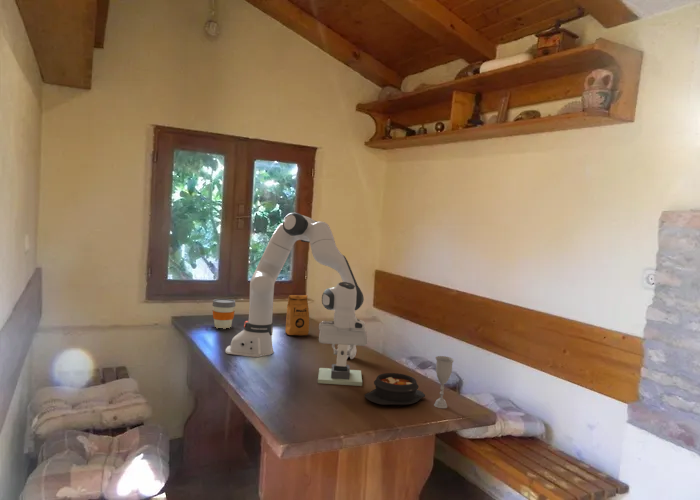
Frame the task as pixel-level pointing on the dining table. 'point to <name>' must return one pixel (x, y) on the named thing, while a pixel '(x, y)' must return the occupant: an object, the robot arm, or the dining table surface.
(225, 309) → the reusable coffee cup
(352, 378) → the socket board
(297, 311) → the coffee package
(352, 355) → the water bottle
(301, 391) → the dining table surface
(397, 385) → the casserole
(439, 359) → the chalice
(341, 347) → the keyed plug
